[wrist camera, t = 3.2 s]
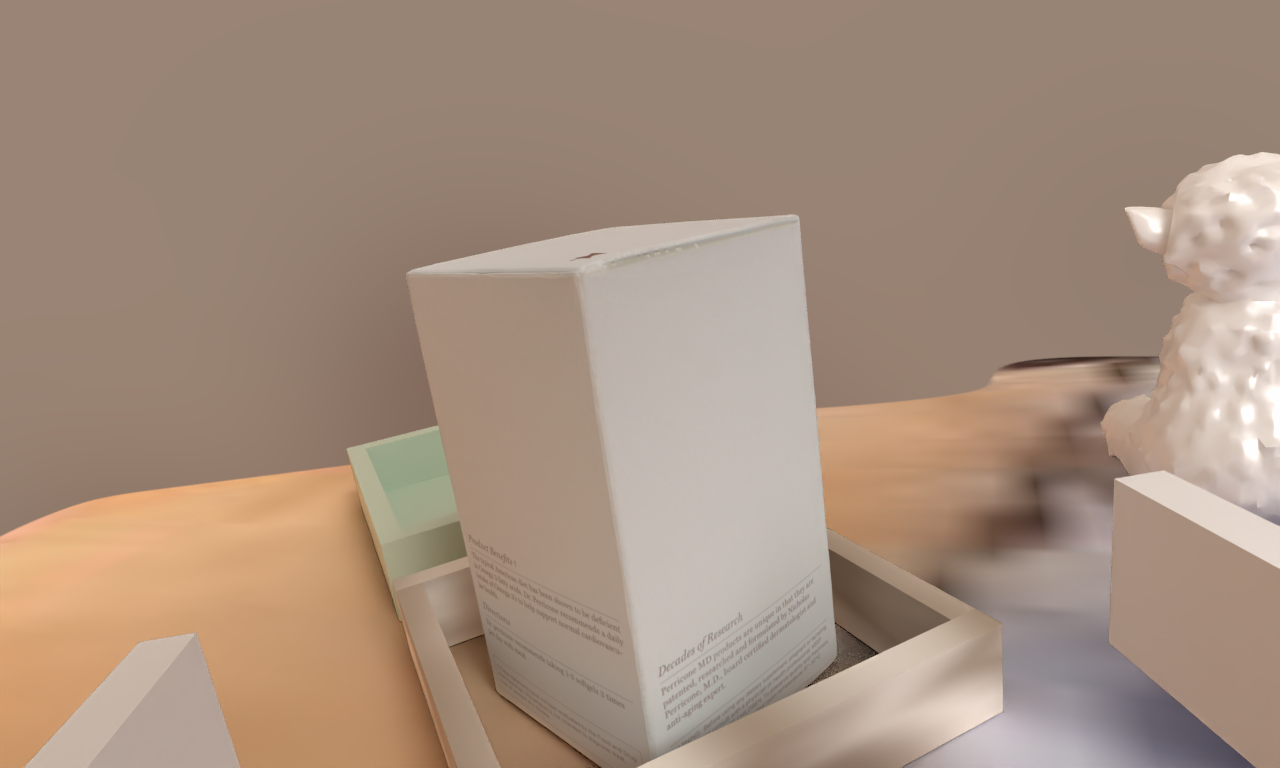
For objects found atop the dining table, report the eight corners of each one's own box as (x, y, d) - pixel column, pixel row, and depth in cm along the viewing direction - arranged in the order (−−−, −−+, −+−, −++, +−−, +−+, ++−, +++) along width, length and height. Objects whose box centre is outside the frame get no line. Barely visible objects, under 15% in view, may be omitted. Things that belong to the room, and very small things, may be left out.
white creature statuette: (1405, 465, 28) (1452, 123, 25) (1439, 577, 22) (1507, 139, 19) (1106, 437, 34) (1114, 157, 31) (1065, 519, 28) (1069, 178, 25)
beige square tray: (733, 531, 30) (726, 472, 30) (1003, 711, 19) (1002, 623, 19) (408, 647, 26) (391, 580, 25) (518, 976, 15) (494, 871, 14)
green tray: (594, 439, 43) (586, 387, 43) (708, 515, 32) (700, 447, 31) (360, 505, 38) (346, 448, 38) (399, 621, 27) (380, 544, 27)
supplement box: (847, 660, 22) (813, 208, 19) (659, 824, 17) (569, 264, 14) (667, 582, 28) (616, 221, 24) (487, 691, 23) (394, 265, 20)
